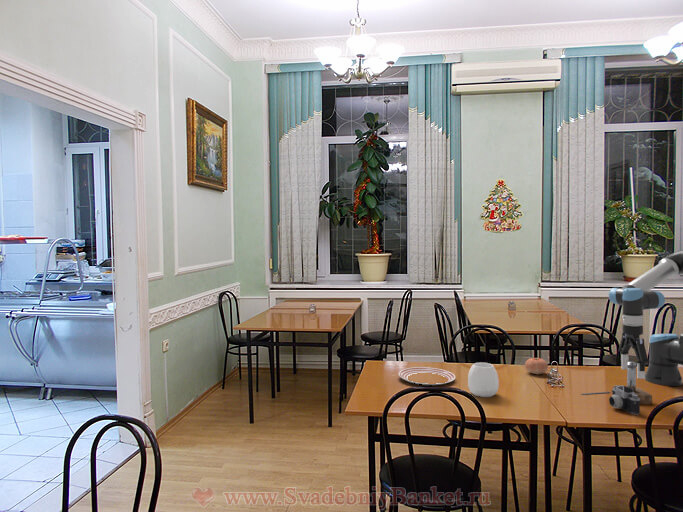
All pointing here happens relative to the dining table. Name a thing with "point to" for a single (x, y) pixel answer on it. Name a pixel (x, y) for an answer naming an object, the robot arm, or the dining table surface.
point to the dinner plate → (415, 370)
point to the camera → (625, 399)
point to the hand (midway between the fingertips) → (632, 373)
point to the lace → (595, 393)
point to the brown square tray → (643, 396)
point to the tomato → (536, 365)
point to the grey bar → (631, 375)
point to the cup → (483, 380)
